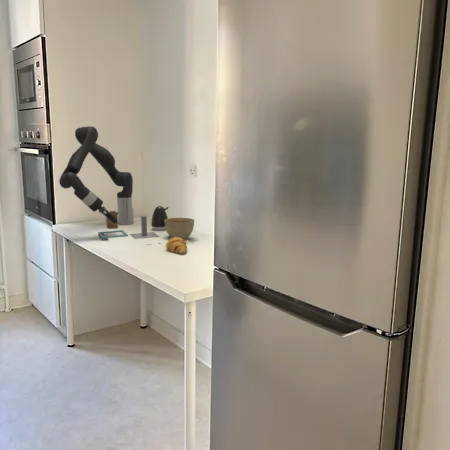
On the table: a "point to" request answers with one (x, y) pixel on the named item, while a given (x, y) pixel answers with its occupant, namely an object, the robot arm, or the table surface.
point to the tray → (111, 236)
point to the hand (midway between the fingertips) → (115, 221)
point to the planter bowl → (179, 227)
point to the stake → (144, 230)
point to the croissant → (176, 245)
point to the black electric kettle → (159, 218)
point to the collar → (109, 223)
